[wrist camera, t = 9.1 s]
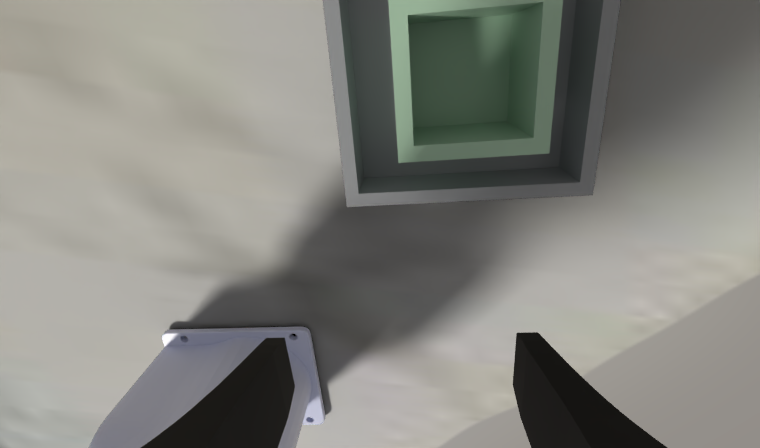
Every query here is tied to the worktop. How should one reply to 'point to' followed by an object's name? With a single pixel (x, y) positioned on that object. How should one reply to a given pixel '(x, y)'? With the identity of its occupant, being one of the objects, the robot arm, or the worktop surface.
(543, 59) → the small crate
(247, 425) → the robot arm
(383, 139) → the large crate
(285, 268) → the worktop surface
